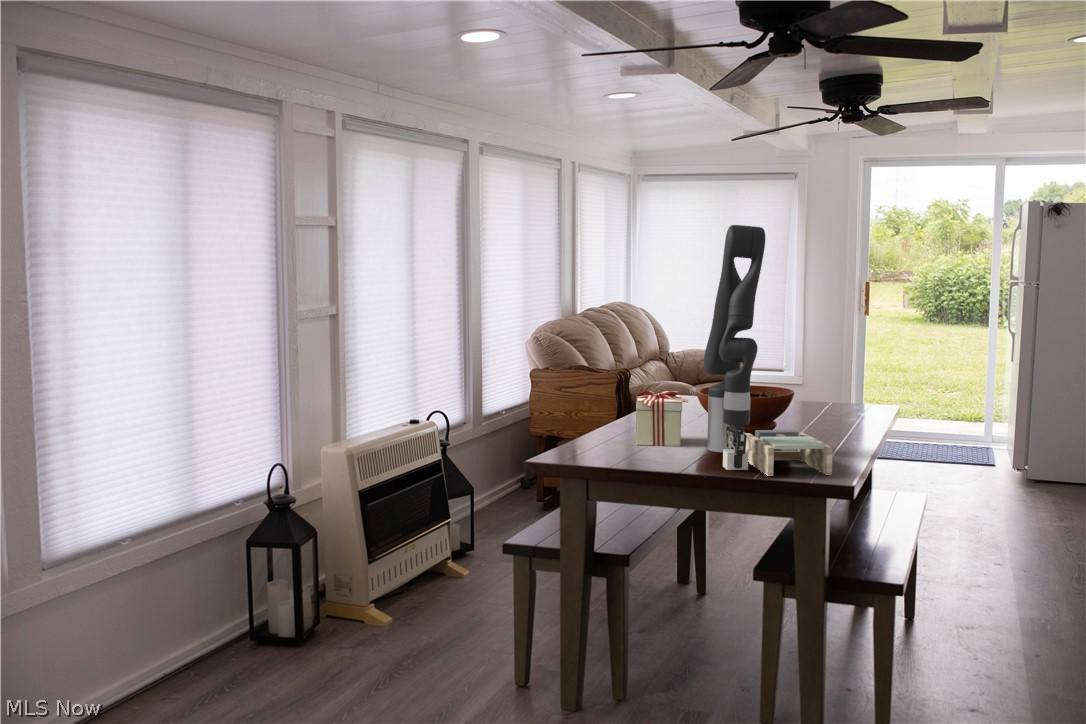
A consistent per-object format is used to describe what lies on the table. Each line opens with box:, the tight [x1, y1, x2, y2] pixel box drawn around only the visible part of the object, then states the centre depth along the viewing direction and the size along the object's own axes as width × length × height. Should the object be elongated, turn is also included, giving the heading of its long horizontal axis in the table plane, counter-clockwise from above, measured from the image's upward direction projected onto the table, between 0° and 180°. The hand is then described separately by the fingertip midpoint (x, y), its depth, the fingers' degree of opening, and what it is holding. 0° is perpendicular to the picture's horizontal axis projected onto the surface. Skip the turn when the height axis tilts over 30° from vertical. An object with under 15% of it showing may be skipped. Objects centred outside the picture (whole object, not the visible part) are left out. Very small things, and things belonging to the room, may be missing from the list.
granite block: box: [722, 448, 749, 471], centre depth 271 cm, size 5×6×5 cm
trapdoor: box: [754, 429, 824, 450], centre depth 273 cm, size 22×14×4 cm, turn 3°
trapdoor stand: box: [745, 432, 834, 477], centre depth 273 cm, size 24×18×8 cm
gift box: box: [634, 390, 689, 447], centre depth 312 cm, size 17×18×17 cm
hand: (735, 465), depth 272 cm, fingers closed on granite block, 5 cm apart
